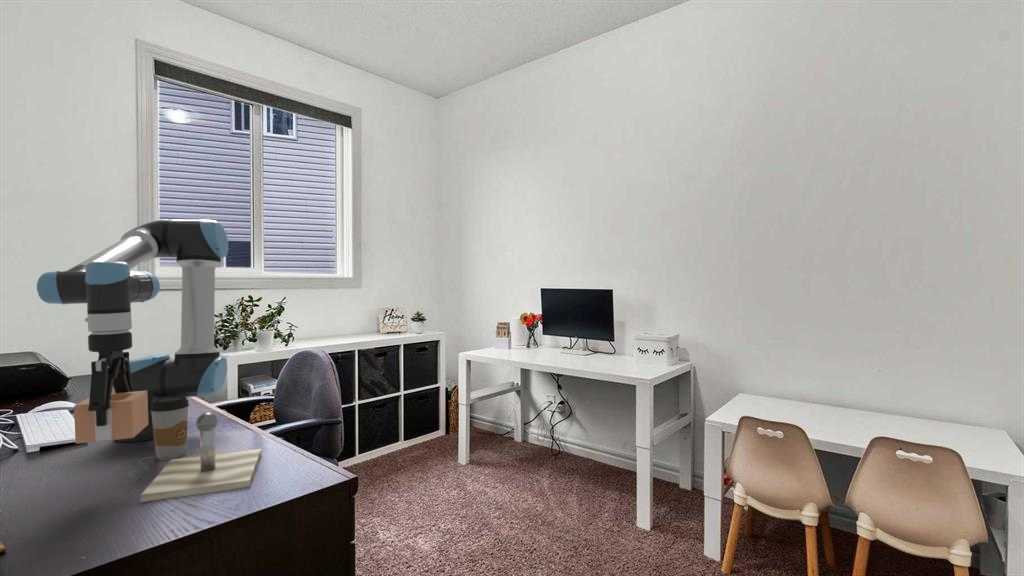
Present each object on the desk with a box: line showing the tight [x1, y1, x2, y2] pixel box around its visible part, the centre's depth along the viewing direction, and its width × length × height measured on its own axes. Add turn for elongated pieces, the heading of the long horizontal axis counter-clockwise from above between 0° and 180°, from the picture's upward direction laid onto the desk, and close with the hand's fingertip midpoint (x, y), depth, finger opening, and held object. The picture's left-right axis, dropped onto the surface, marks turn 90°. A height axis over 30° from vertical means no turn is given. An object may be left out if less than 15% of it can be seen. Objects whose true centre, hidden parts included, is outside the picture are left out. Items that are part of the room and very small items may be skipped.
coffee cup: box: [150, 395, 190, 461], centre depth 130 cm, size 8×8×15 cm
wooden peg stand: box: [140, 411, 262, 503], centre depth 117 cm, size 22×20×15 cm
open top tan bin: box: [73, 391, 149, 445], centre depth 111 cm, size 10×10×8 cm
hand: (114, 432), depth 111 cm, fingers closed on open top tan bin, 10 cm apart
